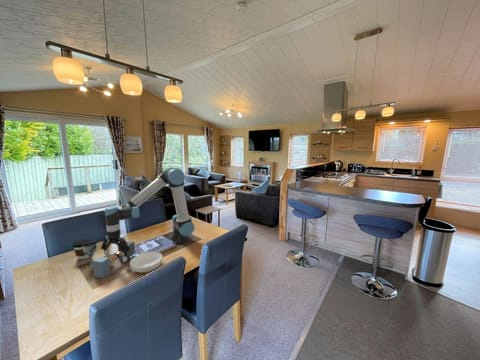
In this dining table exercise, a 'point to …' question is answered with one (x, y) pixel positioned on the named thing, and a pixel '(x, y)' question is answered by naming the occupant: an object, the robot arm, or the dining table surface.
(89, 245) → the wine glass
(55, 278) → the dining table surface
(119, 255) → the tube
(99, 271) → the socket
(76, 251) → the coffee cup
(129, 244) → the sleeve
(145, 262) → the bowl
